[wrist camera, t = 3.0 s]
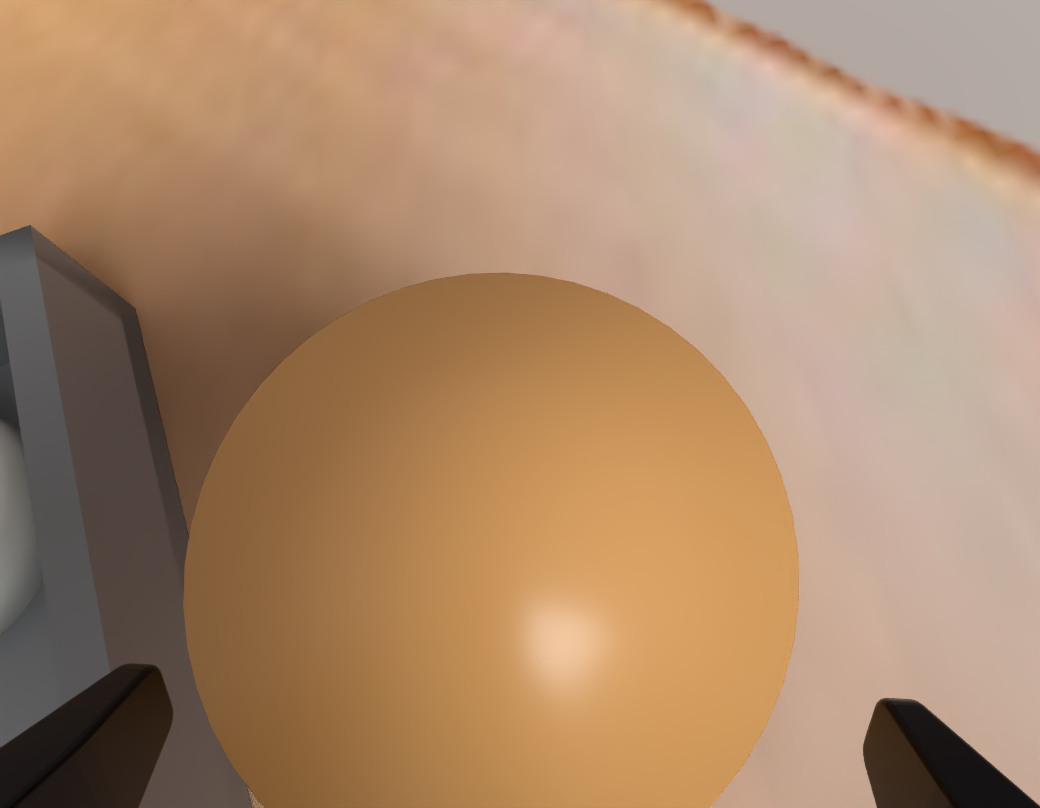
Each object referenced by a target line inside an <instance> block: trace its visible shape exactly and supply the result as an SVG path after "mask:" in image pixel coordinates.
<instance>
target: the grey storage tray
mask: <svg viewBox="0 0 1040 808" xmlns="http://www.w3.org/2000/svg"><path fill="white" fill-rule="evenodd" d="M188 540H189V537H188V533H187V528H186V524H185V520H184V516H183V511H182V507H181V503H180V498H179V494H178V490H177V486H176V481H175V477H174V473H173V468H172V464H171V460H170V456H169V451H168V447H167V443H166V439H165V434H164V430H163V426H162V421H161V417H160V413H159V409H158V404H157V400H156V396H155V391H154V387H153V383H152V379H151V374H150V370H149V366H148V362H147V357H146V353H145V349H144V344H143V340H142V336H141V332H140V327H139V323H138V319H137V315H136V310H135V308H134V307H132V306H131V305H130V304H129V303H127V302H126V301H125V300H124V299H122V298H121V297H120V296H119V295H117V294H116V293H115V292H114V291H112V290H111V289H110V288H109V287H107V286H106V285H105V284H103V283H102V282H101V281H100V280H98V279H97V278H96V277H95V276H93V275H92V274H91V273H90V272H88V271H87V270H86V269H85V268H83V267H82V266H81V265H80V264H78V263H77V262H76V261H75V260H73V259H72V258H71V257H70V256H68V255H67V254H66V253H65V252H63V251H62V250H61V249H60V248H58V247H57V246H56V245H55V244H53V243H52V242H51V241H50V240H48V239H47V238H46V237H45V236H43V235H42V234H41V233H40V232H38V231H37V230H36V229H35V228H33V227H32V226H31V225H29V226H26V227H23V228H20V229H18V230H15V231H12V232H9V233H6V234H4V235H1V236H0V747H1V746H3V745H4V744H6V743H7V742H9V741H10V740H12V739H13V738H15V737H16V736H18V735H19V734H20V733H22V732H23V731H25V730H26V729H28V728H29V727H31V726H32V725H34V724H35V723H37V722H38V721H40V720H41V719H42V718H44V717H45V716H47V715H48V714H50V713H51V712H53V711H54V710H56V709H57V708H59V707H60V706H62V705H63V704H64V703H66V702H67V701H69V700H70V699H72V698H73V697H75V696H76V695H78V694H79V693H81V692H82V691H84V690H85V689H86V688H88V687H89V686H91V685H92V684H94V683H95V682H97V681H98V680H100V679H101V678H103V677H104V676H106V675H107V674H108V673H110V672H111V671H113V670H114V669H116V668H118V667H119V666H121V665H124V664H128V663H136V664H153V665H156V666H157V667H158V668H159V669H160V670H161V672H162V675H163V678H164V681H165V684H166V687H167V690H168V693H169V696H170V699H171V702H172V705H173V722H172V726H171V729H170V732H169V734H168V737H167V739H166V742H165V744H164V747H163V749H162V752H161V754H160V757H159V759H158V762H157V764H156V767H155V769H154V772H153V774H152V777H151V779H150V782H149V784H148V787H147V789H146V792H145V794H144V797H143V799H142V802H141V804H140V807H139V808H252V806H251V802H250V798H249V793H248V789H247V785H246V784H245V782H244V781H243V780H242V778H241V777H240V776H239V774H238V773H237V772H236V770H235V769H234V768H233V766H232V764H231V762H230V761H229V759H228V757H227V755H226V753H225V751H224V750H223V748H222V746H221V744H220V742H219V740H218V739H217V737H216V735H215V733H214V731H213V729H212V727H211V725H210V722H209V719H208V717H207V714H206V711H205V709H204V706H203V703H202V701H201V698H200V695H199V693H198V690H197V687H196V683H195V679H194V674H193V670H192V665H191V661H190V657H189V652H188V648H187V640H186V629H185V618H184V608H183V598H184V569H185V559H186V553H187V546H188Z"/></svg>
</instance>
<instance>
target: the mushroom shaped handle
mask: <svg viewBox="0 0 1040 808" xmlns="http://www.w3.org/2000/svg"><path fill="white" fill-rule="evenodd" d="M798 603H799V562H798V549H797V543H796V536H795V529H794V523H793V516H792V512H791V508H790V505H789V501H788V497H787V494H786V490H785V487H784V483H783V480H782V476H781V474H780V471H779V469H778V467H777V464H776V462H775V460H774V457H773V455H772V453H771V450H770V448H769V446H768V443H767V441H766V439H765V437H764V435H763V434H762V432H761V430H760V428H759V427H758V425H757V423H756V422H755V420H754V418H753V416H752V415H751V413H750V411H749V410H748V408H747V406H746V405H745V403H744V402H743V401H742V400H741V398H740V397H739V396H738V394H737V393H736V392H735V390H734V389H733V388H732V386H731V385H730V384H729V382H728V381H727V380H726V379H725V377H724V376H723V375H722V374H721V373H720V372H719V371H718V370H717V369H716V368H715V367H714V366H713V365H712V364H711V363H710V362H709V361H708V360H707V359H706V358H705V357H704V356H703V355H702V354H701V352H700V351H699V350H698V349H696V348H695V347H694V346H693V345H691V344H690V343H689V342H688V341H686V340H685V339H684V338H683V337H681V336H680V335H679V334H678V333H676V332H675V331H674V330H673V329H671V328H670V327H669V326H667V325H665V324H664V323H662V322H661V321H659V320H657V319H656V318H654V317H652V316H651V315H649V314H648V313H646V312H644V311H643V310H641V309H639V308H638V307H635V306H633V305H631V304H629V303H627V302H625V301H622V300H620V299H618V298H616V297H614V296H612V295H609V294H607V293H604V292H601V291H598V290H595V289H592V288H589V287H586V286H583V285H580V284H577V283H574V282H569V281H564V280H559V279H554V278H549V277H544V276H538V275H526V274H514V273H483V274H467V275H460V276H453V277H447V278H440V279H435V280H431V281H427V282H423V283H420V284H416V285H412V286H408V287H405V288H402V289H399V290H397V291H394V292H391V293H389V294H386V295H384V296H381V297H379V298H376V299H374V300H371V301H369V302H367V303H365V304H363V305H361V306H360V307H358V308H356V309H354V310H352V311H350V312H348V313H346V314H344V315H342V316H341V317H339V318H337V319H336V320H335V321H333V322H332V323H330V324H329V325H327V326H326V327H324V328H323V329H321V330H320V331H318V332H317V333H315V334H314V335H312V336H311V337H310V338H309V339H307V340H306V341H305V342H304V343H303V344H302V345H300V346H299V347H298V348H297V349H296V350H295V351H293V352H292V353H291V354H290V355H289V356H288V357H286V358H285V359H284V360H283V361H282V362H281V363H280V364H279V365H278V366H277V367H276V369H275V370H274V371H273V372H272V373H271V374H270V375H269V376H268V377H267V378H266V379H265V380H264V382H263V383H262V384H261V385H260V386H259V387H258V388H257V389H256V391H255V392H254V394H253V395H252V396H251V398H250V399H249V400H248V402H247V403H246V404H245V406H244V407H243V409H242V410H241V411H240V413H239V414H238V415H237V417H236V418H235V420H234V422H233V424H232V425H231V427H230V429H229V431H228V432H227V434H226V436H225V438H224V439H223V441H222V443H221V445H220V446H219V448H218V450H217V452H216V454H215V457H214V459H213V461H212V464H211V466H210V469H209V471H208V473H207V476H206V478H205V480H204V483H203V485H202V488H201V491H200V495H199V498H198V502H197V505H196V509H195V512H194V516H193V519H192V523H191V528H190V534H189V540H188V546H187V553H186V559H185V569H184V598H183V608H184V618H185V629H186V640H187V648H188V652H189V657H190V661H191V665H192V670H193V674H194V679H195V683H196V687H197V690H198V693H199V695H200V698H201V701H202V703H203V706H204V709H205V711H206V714H207V717H208V719H209V722H210V725H211V727H212V729H213V731H214V733H215V735H216V737H217V739H218V740H219V742H220V744H221V746H222V748H223V750H224V751H225V753H226V755H227V757H228V759H229V761H230V762H231V764H232V766H233V768H234V769H235V770H236V772H237V773H238V774H239V776H240V777H241V778H242V780H243V781H244V782H245V784H246V785H247V786H248V788H249V789H250V790H251V792H252V793H253V794H254V796H255V797H256V798H257V800H258V801H259V802H260V803H261V804H262V805H263V806H264V807H265V808H709V807H710V806H711V805H712V804H713V803H714V802H715V801H716V799H717V798H718V797H719V796H720V794H721V793H722V792H723V791H724V789H725V788H726V787H727V785H728V784H729V783H730V782H731V780H732V779H733V778H734V777H735V775H736V774H737V773H738V772H739V770H740V769H741V768H742V766H743V765H744V763H745V761H746V760H747V758H748V756H749V755H750V753H751V751H752V749H753V748H754V746H755V744H756V743H757V741H758V739H759V737H760V736H761V734H762V732H763V730H764V729H765V727H766V725H767V723H768V720H769V718H770V715H771V713H772V710H773V708H774V705H775V703H776V700H777V698H778V696H779V693H780V691H781V688H782V686H783V683H784V679H785V675H786V671H787V667H788V663H789V659H790V655H791V651H792V647H793V643H794V638H795V629H796V620H797V612H798Z"/></svg>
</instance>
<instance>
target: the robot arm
mask: <svg viewBox="0 0 1040 808" xmlns="http://www.w3.org/2000/svg"><path fill="white" fill-rule="evenodd" d="M172 722H173V705H172V702H171V699H170V696H169V693H168V690H167V687H166V684H165V681H164V678H163V675H162V672H161V670H160V669H159V668H158V667H157V666H156V665H153V664H136V663H128V664H124V665H121V666H119V667H118V668H116V669H114V670H113V671H111V672H110V673H108V674H107V675H106V676H104V677H103V678H101V679H100V680H98V681H97V682H95V683H94V684H92V685H91V686H89V687H88V688H86V689H85V690H84V691H82V692H81V693H79V694H78V695H76V696H75V697H73V698H72V699H70V700H69V701H67V702H66V703H64V704H63V705H62V706H60V707H59V708H57V709H56V710H54V711H53V712H51V713H50V714H48V715H47V716H45V717H44V718H42V719H41V720H40V721H38V722H37V723H35V724H34V725H32V726H31V727H29V728H28V729H26V730H25V731H23V732H22V733H20V734H19V735H18V736H16V737H15V738H13V739H12V740H10V741H9V742H7V743H6V744H4V745H3V746H1V747H0V808H139V807H140V804H141V802H142V799H143V797H144V794H145V792H146V789H147V787H148V784H149V782H150V779H151V777H152V774H153V772H154V769H155V767H156V764H157V762H158V759H159V757H160V754H161V752H162V749H163V747H164V744H165V742H166V739H167V737H168V734H169V732H170V729H171V726H172ZM863 756H864V762H865V767H866V770H867V774H868V777H869V781H870V784H871V788H872V791H873V795H874V798H875V802H876V806H877V808H1040V806H1039V805H1038V804H1037V803H1036V802H1035V801H1034V800H1032V799H1031V798H1030V797H1029V796H1028V795H1027V794H1025V793H1024V792H1023V791H1022V790H1021V789H1020V788H1019V787H1017V786H1016V785H1015V784H1014V783H1013V782H1012V781H1010V780H1009V779H1008V778H1007V777H1006V776H1005V775H1003V774H1002V773H1001V772H1000V771H999V770H998V769H997V768H995V767H994V766H993V765H992V764H991V763H990V762H988V761H987V760H986V759H985V758H984V757H983V756H982V755H980V754H979V753H978V752H977V751H976V750H975V749H973V748H972V747H971V746H970V745H969V744H968V743H966V742H965V741H964V740H963V739H962V738H961V737H960V736H958V735H957V734H956V733H955V732H954V731H953V730H951V729H950V728H949V727H948V726H947V725H946V724H945V723H943V722H942V721H941V720H940V719H939V718H938V717H936V716H935V715H934V714H933V713H932V712H931V711H929V710H928V709H927V708H926V707H925V706H924V705H922V704H921V703H919V702H917V701H915V700H912V699H897V698H883V699H881V700H879V701H878V702H877V704H876V706H875V709H874V712H873V715H872V718H871V721H870V724H869V727H868V730H867V734H866V737H865V740H864V744H863Z"/></svg>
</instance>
